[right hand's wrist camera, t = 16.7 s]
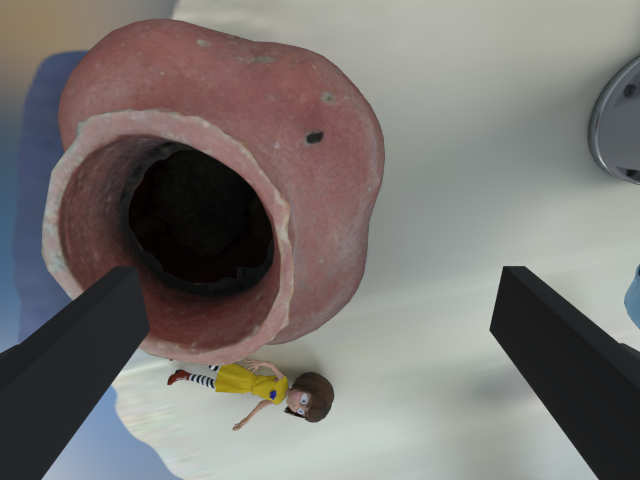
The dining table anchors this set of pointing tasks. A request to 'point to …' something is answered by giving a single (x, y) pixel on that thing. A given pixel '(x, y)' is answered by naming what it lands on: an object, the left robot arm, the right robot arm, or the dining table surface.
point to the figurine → (269, 389)
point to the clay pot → (214, 186)
